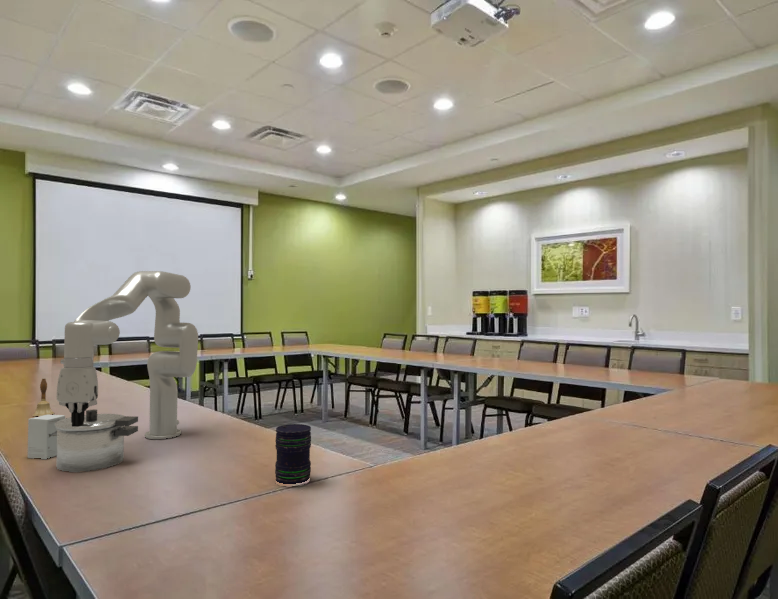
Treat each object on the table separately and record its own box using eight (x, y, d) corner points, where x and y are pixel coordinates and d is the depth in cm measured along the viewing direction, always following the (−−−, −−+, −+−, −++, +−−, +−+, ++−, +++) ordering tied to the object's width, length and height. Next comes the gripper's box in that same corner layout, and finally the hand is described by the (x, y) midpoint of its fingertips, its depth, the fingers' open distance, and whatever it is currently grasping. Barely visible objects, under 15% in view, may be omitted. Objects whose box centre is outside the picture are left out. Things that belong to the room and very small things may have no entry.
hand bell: (27, 416, 226) (27, 379, 226) (44, 412, 234) (45, 377, 234) (41, 417, 224) (42, 380, 224) (59, 413, 231) (59, 378, 232)
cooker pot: (81, 453, 171) (82, 416, 171) (148, 453, 171) (148, 417, 171) (42, 471, 152) (43, 430, 152) (117, 472, 151) (118, 431, 152)
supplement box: (46, 459, 163) (47, 419, 163) (26, 458, 165) (27, 418, 165) (65, 453, 170) (66, 414, 171) (46, 452, 172) (46, 413, 172)
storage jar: (316, 478, 148) (317, 425, 148) (300, 489, 139) (300, 433, 139) (286, 474, 152) (286, 422, 152) (267, 484, 142) (268, 430, 142)
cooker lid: (79, 417, 170) (79, 404, 170) (147, 417, 170) (147, 404, 170) (40, 431, 151) (40, 416, 151) (117, 431, 151) (117, 417, 151)
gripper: (45, 364, 150) (44, 428, 150) (96, 365, 150) (95, 428, 150) (61, 361, 158) (60, 422, 157) (110, 362, 158) (109, 422, 157)
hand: (77, 425), depth 154 cm, fingers closed
